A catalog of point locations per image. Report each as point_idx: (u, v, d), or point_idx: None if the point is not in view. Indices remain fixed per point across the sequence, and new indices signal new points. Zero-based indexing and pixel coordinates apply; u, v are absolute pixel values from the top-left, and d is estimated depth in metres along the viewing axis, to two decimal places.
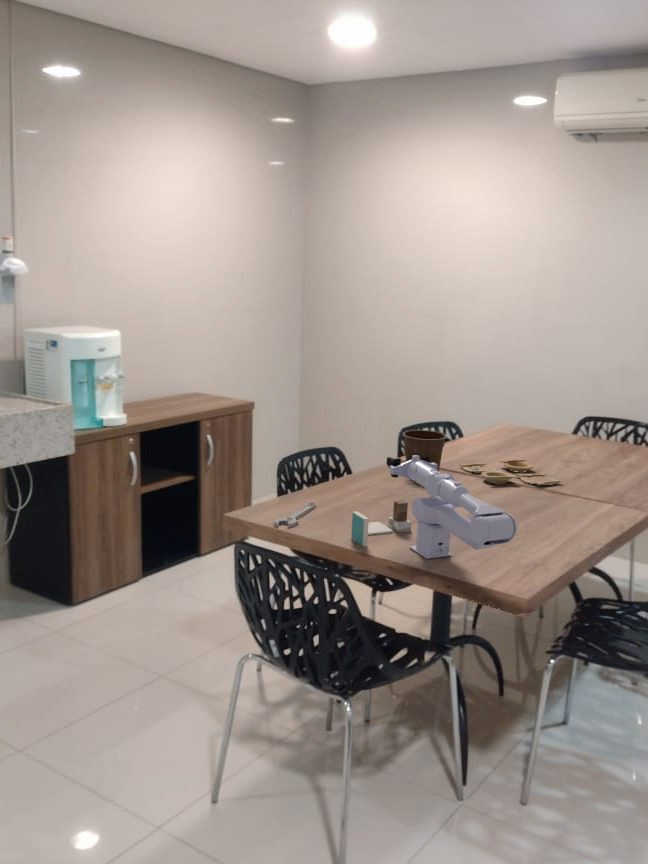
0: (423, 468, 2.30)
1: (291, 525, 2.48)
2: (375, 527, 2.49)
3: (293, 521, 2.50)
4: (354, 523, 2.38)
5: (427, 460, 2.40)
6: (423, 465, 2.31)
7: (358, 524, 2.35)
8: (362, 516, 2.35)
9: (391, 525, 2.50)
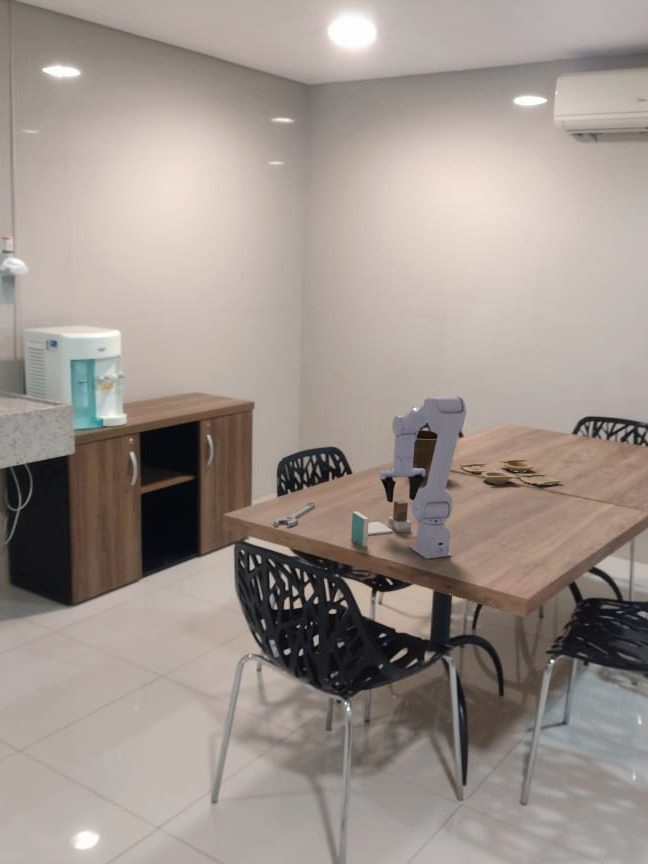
0: None
1: (291, 525, 2.48)
2: (375, 527, 2.49)
3: (293, 521, 2.50)
4: (354, 523, 2.38)
5: None
6: None
7: (358, 524, 2.35)
8: (362, 516, 2.35)
9: (391, 525, 2.50)
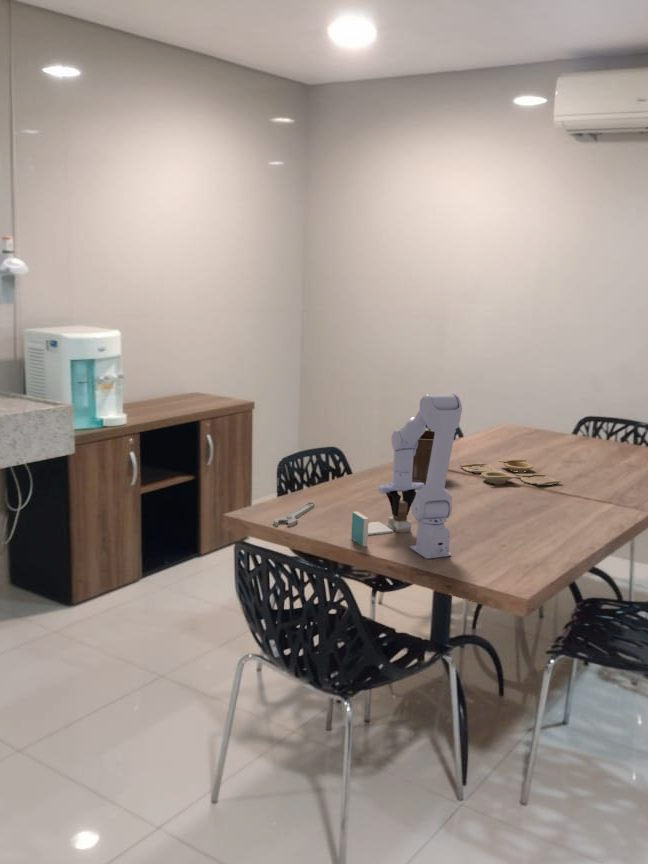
0: None
1: (290, 524, 2.49)
2: (375, 527, 2.49)
3: (292, 520, 2.50)
4: (354, 523, 2.38)
5: None
6: None
7: (358, 524, 2.35)
8: (362, 516, 2.35)
9: (391, 525, 2.50)
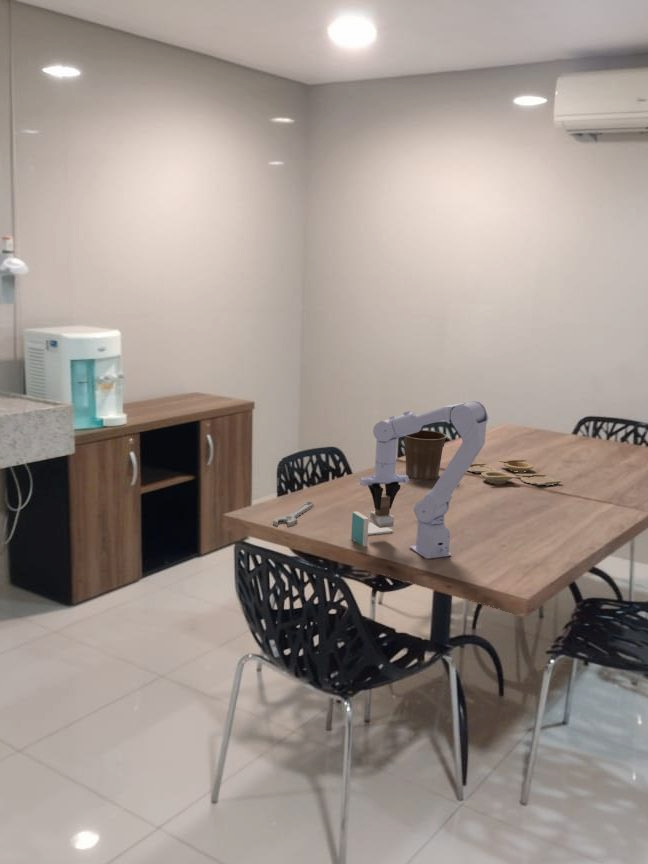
0: None
1: (290, 524, 2.49)
2: (375, 527, 2.49)
3: (292, 520, 2.51)
4: (354, 523, 2.38)
5: None
6: None
7: (358, 524, 2.35)
8: (362, 516, 2.35)
9: (373, 520, 2.39)
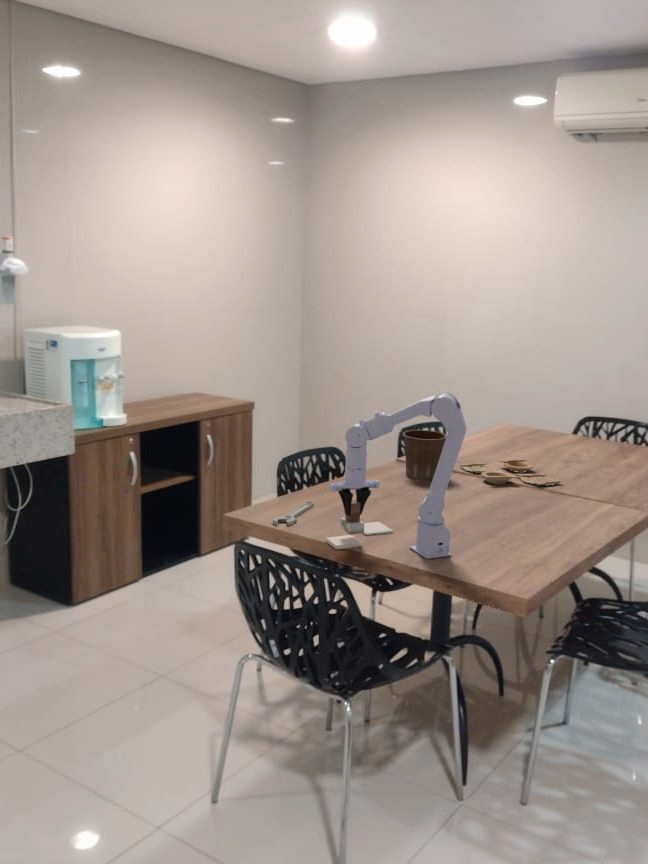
0: (346, 460, 2.31)
1: (290, 523, 2.50)
2: (375, 527, 2.49)
3: (292, 519, 2.51)
4: None
5: None
6: (345, 465, 2.32)
7: None
8: (332, 545, 2.32)
9: (343, 526, 2.36)
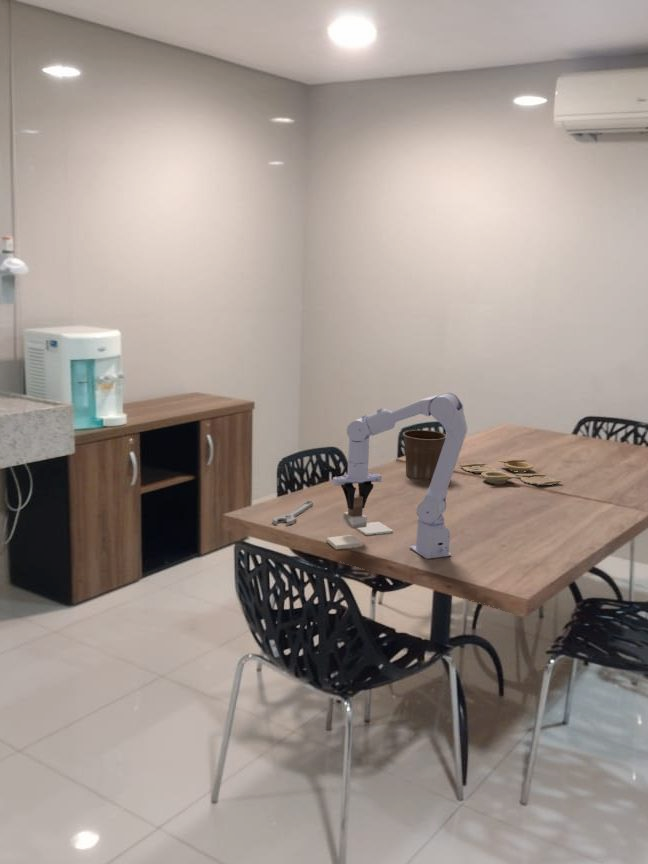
0: (348, 454, 2.34)
1: (289, 523, 2.50)
2: (375, 527, 2.49)
3: (291, 519, 2.52)
4: None
5: None
6: None
7: None
8: (332, 545, 2.33)
9: (346, 520, 2.38)
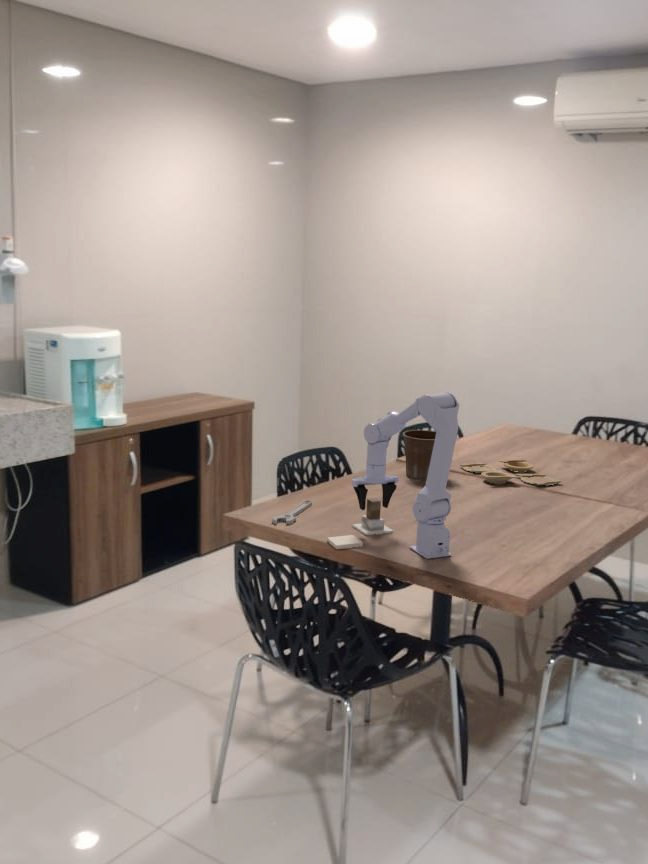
0: None
1: (289, 522, 2.50)
2: None
3: (291, 518, 2.52)
4: None
5: None
6: None
7: None
8: (333, 545, 2.33)
9: (364, 523, 2.49)
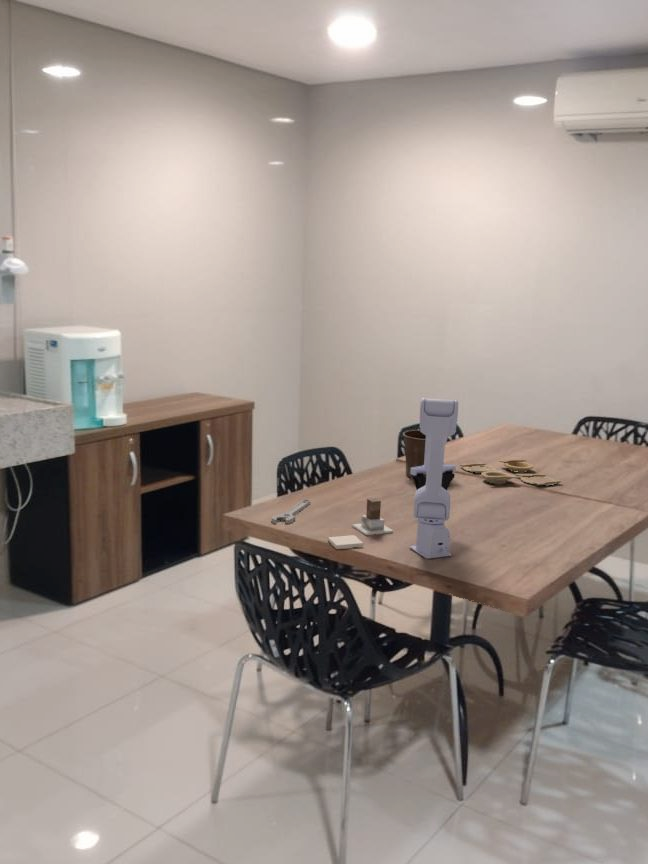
0: None
1: (288, 521, 2.51)
2: None
3: (290, 517, 2.53)
4: None
5: None
6: None
7: None
8: (333, 545, 2.33)
9: (364, 523, 2.49)
